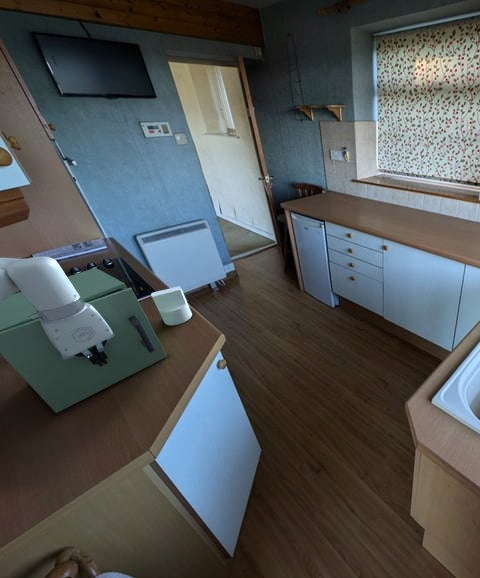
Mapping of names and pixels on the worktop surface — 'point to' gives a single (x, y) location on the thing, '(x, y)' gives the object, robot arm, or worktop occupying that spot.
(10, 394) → the worktop surface
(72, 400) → the cupboard door
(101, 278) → the cupboard
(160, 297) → the base with upright slab
